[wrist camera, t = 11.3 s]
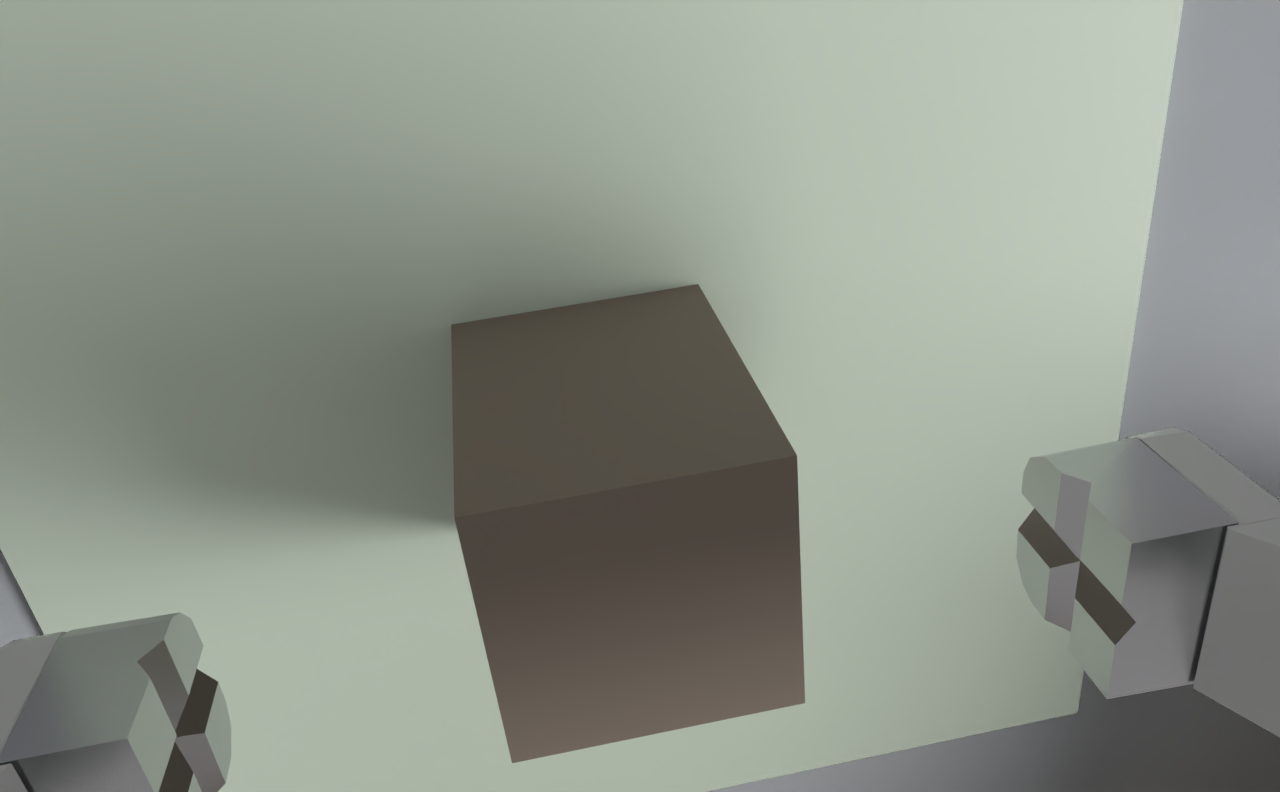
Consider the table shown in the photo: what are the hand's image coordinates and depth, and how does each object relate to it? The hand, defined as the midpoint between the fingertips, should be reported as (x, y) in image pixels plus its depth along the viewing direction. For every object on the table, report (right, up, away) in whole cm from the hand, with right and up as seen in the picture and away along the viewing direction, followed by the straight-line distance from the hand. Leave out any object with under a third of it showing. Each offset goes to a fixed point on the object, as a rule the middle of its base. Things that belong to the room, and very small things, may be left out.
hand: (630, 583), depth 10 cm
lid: (-1, +2, +4) cm, 4 cm away
